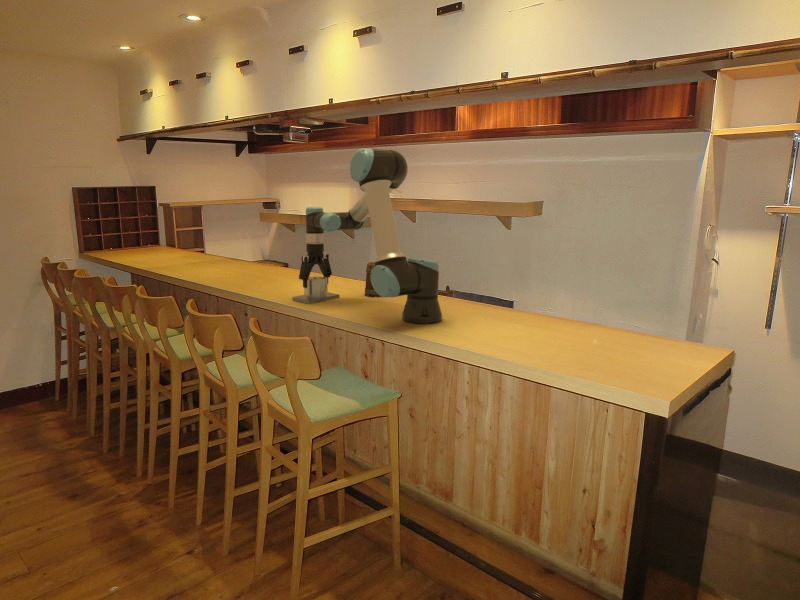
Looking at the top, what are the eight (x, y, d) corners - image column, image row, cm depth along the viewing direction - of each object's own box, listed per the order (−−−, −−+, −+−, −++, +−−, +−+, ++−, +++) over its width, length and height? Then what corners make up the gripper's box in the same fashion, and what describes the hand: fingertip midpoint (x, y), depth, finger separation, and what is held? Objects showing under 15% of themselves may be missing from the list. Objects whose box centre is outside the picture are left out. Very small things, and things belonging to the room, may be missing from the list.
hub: (329, 295, 237) (329, 278, 235) (315, 298, 231) (315, 280, 229) (317, 293, 242) (316, 275, 240) (303, 295, 236) (303, 278, 234)
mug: (361, 296, 244) (361, 263, 241) (369, 292, 254) (369, 260, 251) (393, 298, 239) (393, 265, 236) (400, 294, 249) (401, 262, 246)
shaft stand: (339, 297, 240) (339, 275, 238) (309, 304, 226) (308, 280, 224) (322, 294, 247) (322, 273, 245) (292, 300, 233) (291, 277, 231)
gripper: (328, 240, 242) (328, 288, 247) (289, 244, 225) (290, 295, 230) (339, 241, 238) (340, 290, 242) (300, 245, 221) (302, 298, 225)
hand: (316, 293), depth 236 cm, fingers open, 10 cm apart
